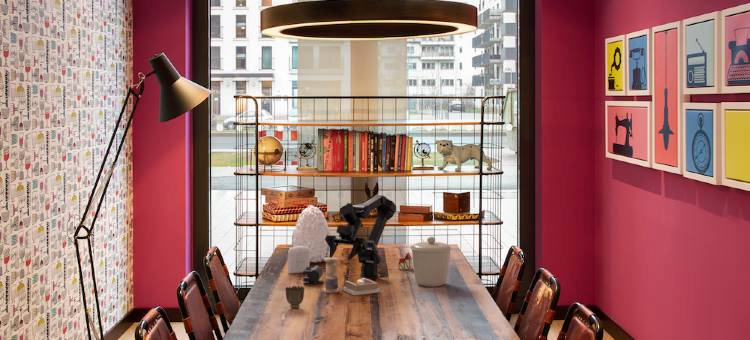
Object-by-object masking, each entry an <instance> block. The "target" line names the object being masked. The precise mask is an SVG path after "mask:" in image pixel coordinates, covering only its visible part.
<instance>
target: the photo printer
mask: <svg viewBox="0 0 750 340" xmlns="http://www.w3.org/2000/svg"><path fill="white" fill-rule="evenodd" d="M287 251H288V253H287V260H288V261H287V271H288V272H287V273H288V274H300V273H302V274H303V270H304V269H306V267H310V262H309V248H308V247H305V246H295V247H292V246H291V247H289V248H288V250H287Z"/></svg>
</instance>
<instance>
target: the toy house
mask: <svg viewBox="0 0 750 340" xmlns="http://www.w3.org/2000/svg"><path fill="white" fill-rule="evenodd" d="M412 268H413V257H412V255H411V254H410V252H406V254H405V256H404V257H402V258H401V257H399V260H398V270H403V269H410V270H411V269H412Z"/></svg>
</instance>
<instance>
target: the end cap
mask: <svg viewBox="0 0 750 340" xmlns="http://www.w3.org/2000/svg"><path fill="white" fill-rule="evenodd" d="M323 274H324V271H323V269H322V267H321V266H319V265H315V266H309V267H306V269H304V270H303V273H302V275H303V276H306V277H303V278H302V282H303V285H308V286H309V285H310V286H312V285H315V284H316V283H318V282H319V280H320V279H321V278H322V276H323Z"/></svg>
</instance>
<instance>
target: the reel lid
mask: <svg viewBox="0 0 750 340" xmlns="http://www.w3.org/2000/svg"><path fill="white" fill-rule="evenodd" d="M364 279H367V278H365V277H362V278H361V279H357V280H356V284H357V285H359V284H364Z"/></svg>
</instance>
